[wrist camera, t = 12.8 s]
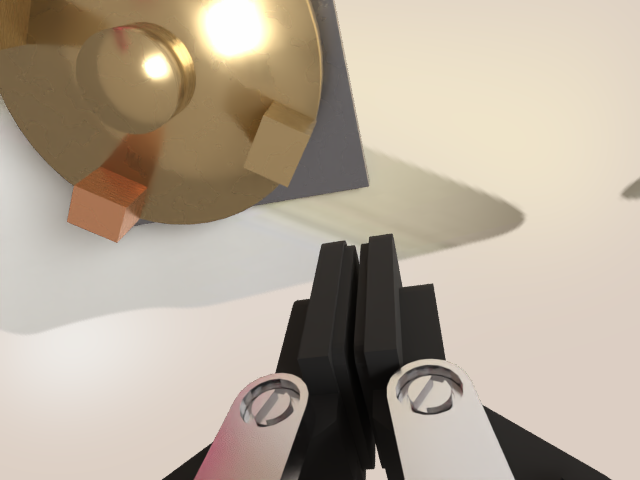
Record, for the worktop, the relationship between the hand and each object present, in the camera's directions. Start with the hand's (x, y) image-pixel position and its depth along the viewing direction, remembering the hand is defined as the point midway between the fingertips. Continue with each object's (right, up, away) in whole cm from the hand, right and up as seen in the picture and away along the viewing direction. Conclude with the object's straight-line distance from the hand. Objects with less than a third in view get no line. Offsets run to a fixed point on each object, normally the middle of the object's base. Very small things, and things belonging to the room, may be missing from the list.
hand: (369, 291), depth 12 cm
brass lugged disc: (-12, +13, +22) cm, 28 cm away
